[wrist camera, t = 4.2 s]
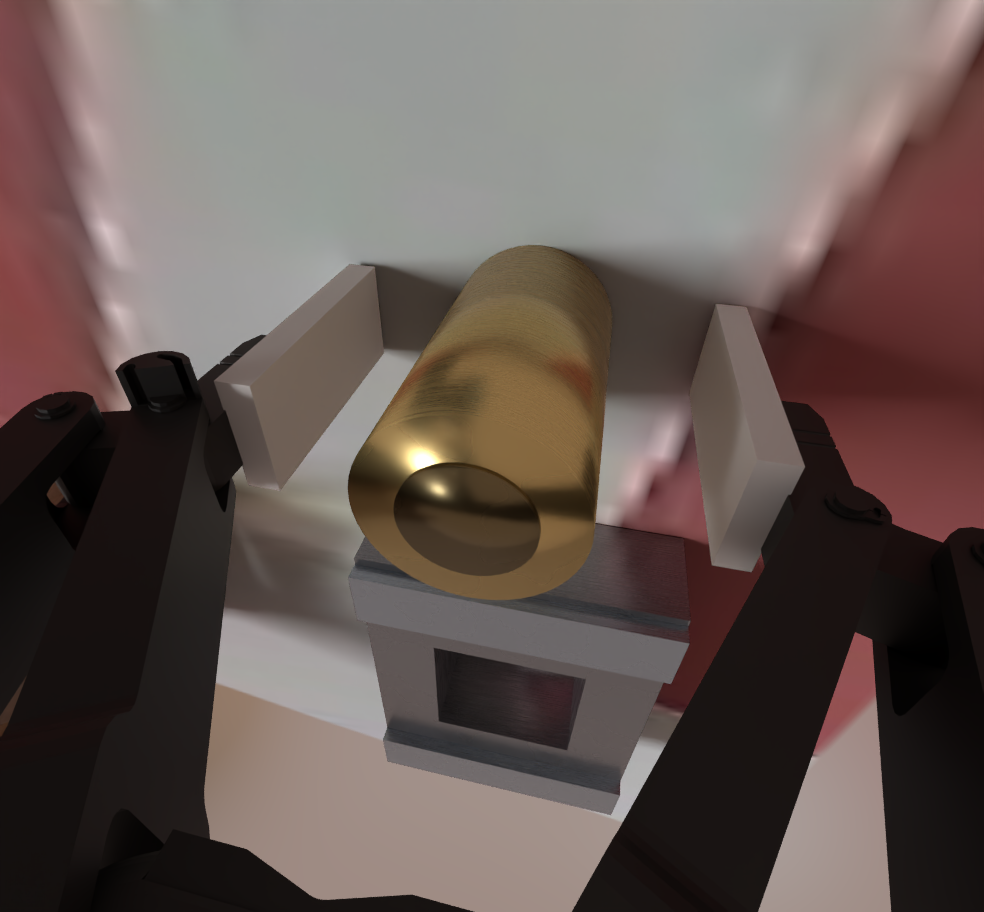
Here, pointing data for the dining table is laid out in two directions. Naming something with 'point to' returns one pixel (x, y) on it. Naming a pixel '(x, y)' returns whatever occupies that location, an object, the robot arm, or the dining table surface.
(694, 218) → the dining table surface
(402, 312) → the dining table surface
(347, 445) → the dining table surface
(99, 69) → the dining table surface
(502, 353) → the bushing
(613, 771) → the jig
